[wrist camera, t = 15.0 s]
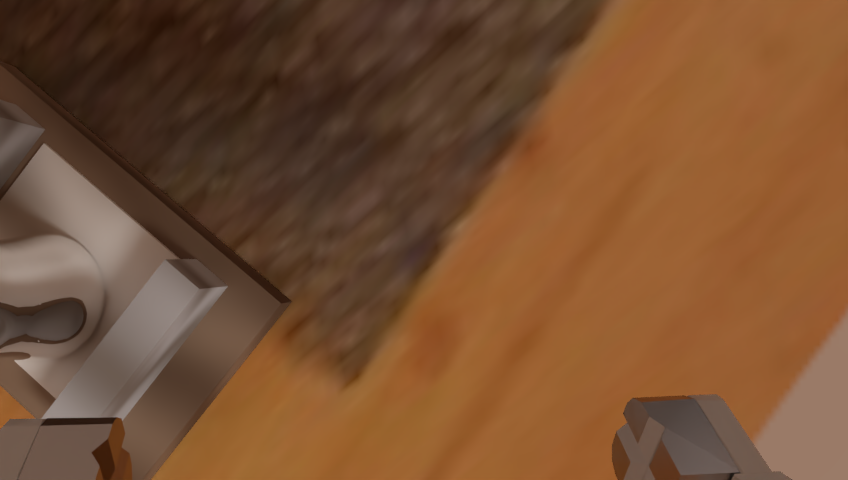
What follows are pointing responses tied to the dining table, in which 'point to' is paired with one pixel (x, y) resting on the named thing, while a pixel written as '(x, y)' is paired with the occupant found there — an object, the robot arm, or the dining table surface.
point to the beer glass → (47, 297)
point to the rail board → (125, 283)
